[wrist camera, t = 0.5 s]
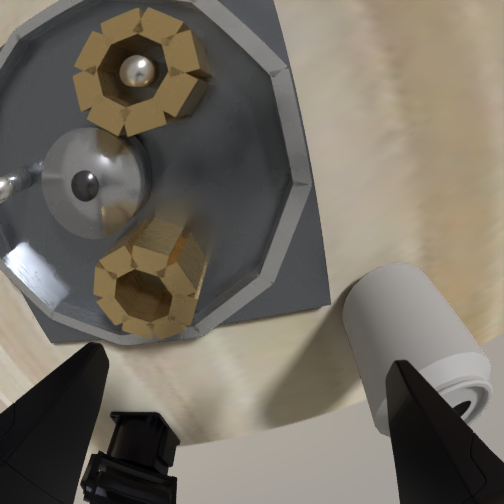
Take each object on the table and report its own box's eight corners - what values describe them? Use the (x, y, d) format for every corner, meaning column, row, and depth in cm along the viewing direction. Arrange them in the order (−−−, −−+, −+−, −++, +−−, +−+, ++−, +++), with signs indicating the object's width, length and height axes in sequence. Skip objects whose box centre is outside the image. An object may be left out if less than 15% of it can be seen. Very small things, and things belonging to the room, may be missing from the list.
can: (386, 347, 26) (430, 462, 15) (320, 316, 24) (352, 453, 14) (442, 283, 23) (520, 388, 12) (381, 239, 21) (466, 358, 11)
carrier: (55, 336, 26) (35, 368, 22) (-38, 86, 15) (-75, 92, 11) (328, 296, 24) (341, 336, 19) (254, -55, 13) (253, -88, 9)
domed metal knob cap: (81, 233, 20) (62, 250, 18) (50, 144, 18) (27, 152, 15) (164, 210, 20) (152, 226, 17) (134, 108, 17) (117, 110, 14)
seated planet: (121, 139, 18) (91, 150, 14) (99, 48, 15) (65, 41, 11) (220, 109, 17) (210, 111, 13) (196, 13, 14) (180, -8, 11)
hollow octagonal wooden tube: (150, 313, 23) (134, 349, 20) (101, 245, 21) (75, 274, 17) (222, 282, 22) (215, 319, 18) (173, 204, 19) (155, 228, 16)
